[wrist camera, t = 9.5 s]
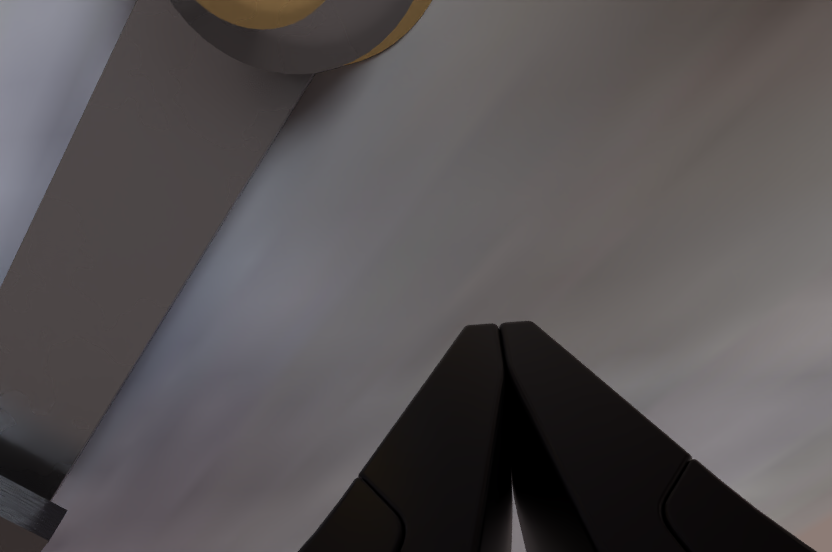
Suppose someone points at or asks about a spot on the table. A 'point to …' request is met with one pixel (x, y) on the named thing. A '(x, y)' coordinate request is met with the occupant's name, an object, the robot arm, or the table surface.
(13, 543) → the keeper
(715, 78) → the table surface
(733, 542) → the robot arm
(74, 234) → the link
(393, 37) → the pintle
